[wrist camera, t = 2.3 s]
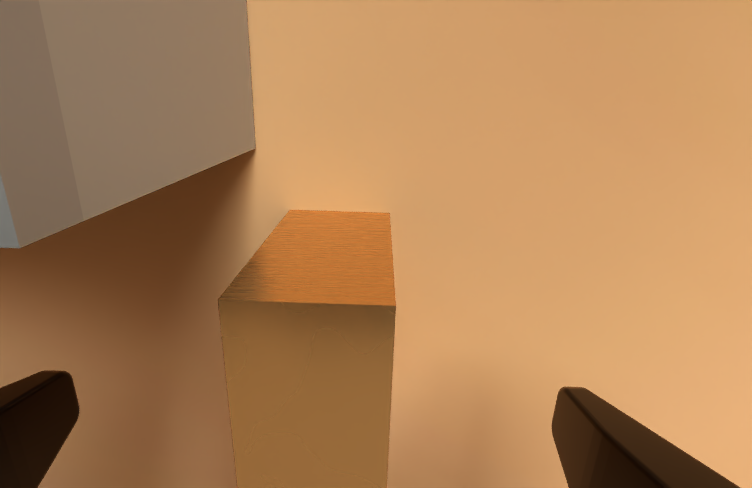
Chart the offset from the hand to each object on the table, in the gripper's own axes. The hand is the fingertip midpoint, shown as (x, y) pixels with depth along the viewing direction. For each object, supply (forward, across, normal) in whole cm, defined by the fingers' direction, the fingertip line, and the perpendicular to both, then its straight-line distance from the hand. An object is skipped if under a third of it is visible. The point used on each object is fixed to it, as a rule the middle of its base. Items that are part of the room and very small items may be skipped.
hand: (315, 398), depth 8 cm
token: (+4, 0, 0) cm, 4 cm away
